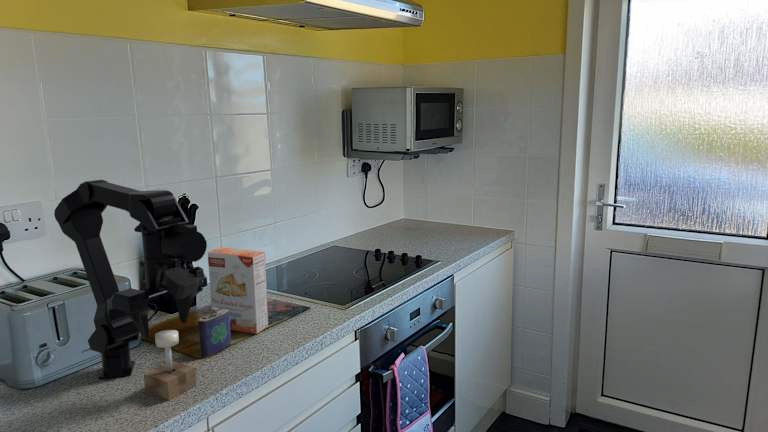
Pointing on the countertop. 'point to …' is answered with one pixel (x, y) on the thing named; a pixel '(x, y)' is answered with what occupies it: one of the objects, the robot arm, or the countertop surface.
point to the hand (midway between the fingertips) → (165, 330)
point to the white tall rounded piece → (167, 345)
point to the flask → (214, 332)
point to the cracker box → (239, 287)
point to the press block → (170, 380)
